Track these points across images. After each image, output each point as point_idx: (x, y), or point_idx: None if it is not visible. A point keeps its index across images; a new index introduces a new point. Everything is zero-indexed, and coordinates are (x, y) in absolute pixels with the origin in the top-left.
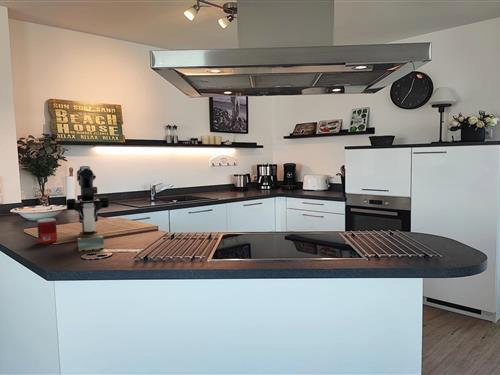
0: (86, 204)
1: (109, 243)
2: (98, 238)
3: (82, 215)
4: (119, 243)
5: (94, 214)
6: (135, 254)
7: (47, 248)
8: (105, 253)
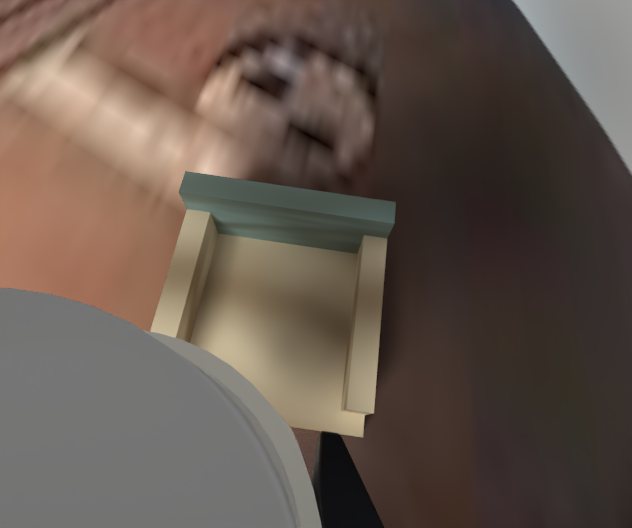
0: (150, 344)
1: None
2: (227, 182)
3: (341, 458)
4: None
5: None
6: (107, 17)
7: (611, 489)
8: (236, 111)
